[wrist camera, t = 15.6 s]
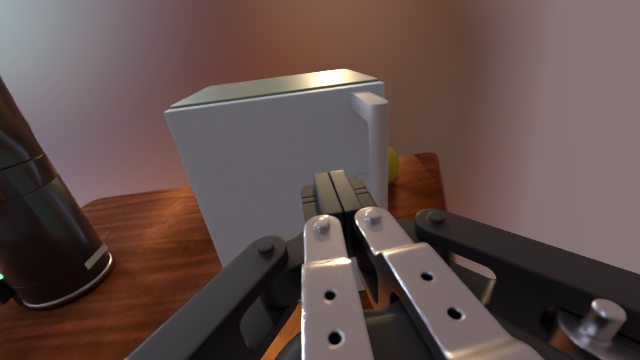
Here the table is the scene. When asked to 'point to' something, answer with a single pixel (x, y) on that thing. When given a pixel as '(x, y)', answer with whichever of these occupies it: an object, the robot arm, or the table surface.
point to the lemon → (392, 164)
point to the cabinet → (274, 87)
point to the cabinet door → (279, 158)
